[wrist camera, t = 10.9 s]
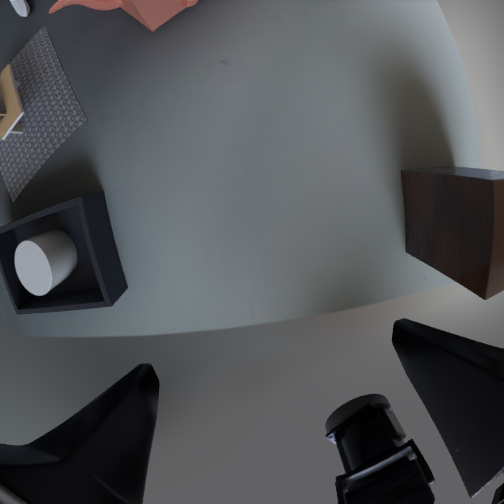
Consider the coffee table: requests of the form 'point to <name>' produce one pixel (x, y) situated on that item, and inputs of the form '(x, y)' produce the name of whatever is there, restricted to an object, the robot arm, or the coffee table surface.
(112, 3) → the teapot
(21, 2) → the pen
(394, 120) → the coffee table surface
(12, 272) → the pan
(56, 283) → the white cylinder
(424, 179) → the stand
